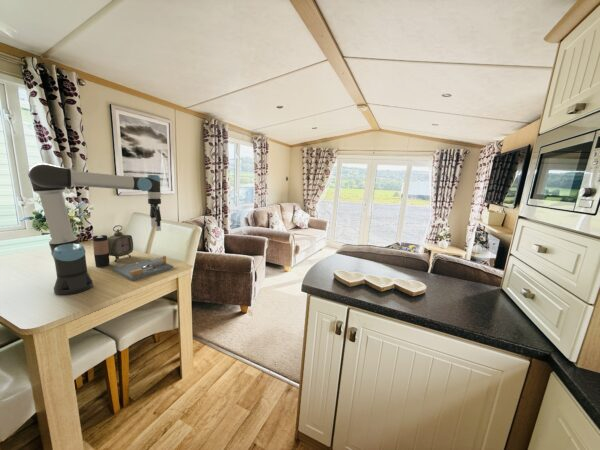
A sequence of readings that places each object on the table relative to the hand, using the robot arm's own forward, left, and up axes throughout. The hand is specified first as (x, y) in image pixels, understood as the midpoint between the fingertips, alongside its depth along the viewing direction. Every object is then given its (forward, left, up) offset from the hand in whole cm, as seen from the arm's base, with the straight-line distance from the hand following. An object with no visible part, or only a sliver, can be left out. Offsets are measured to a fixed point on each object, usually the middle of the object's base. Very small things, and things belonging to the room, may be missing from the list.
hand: (156, 228), depth 164 cm
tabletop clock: (-12, +26, -25) cm, 39 cm away
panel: (-12, -6, -25) cm, 28 cm away
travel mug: (-24, +21, -25) cm, 41 cm away
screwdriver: (-17, -15, -23) cm, 32 cm away
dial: (-7, -10, -23) cm, 25 cm away
